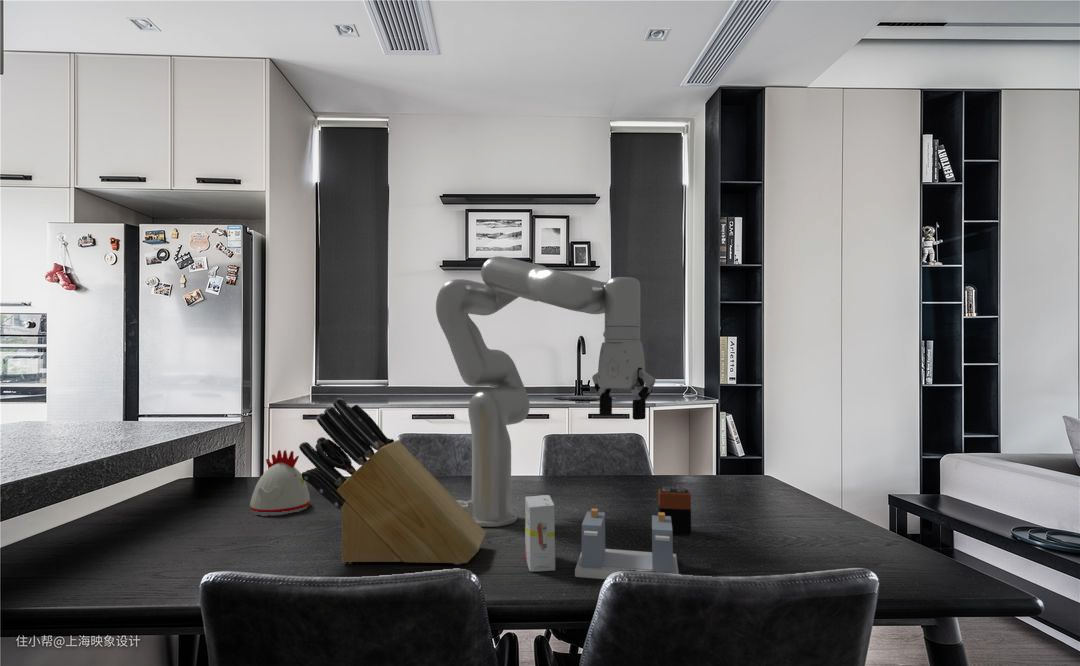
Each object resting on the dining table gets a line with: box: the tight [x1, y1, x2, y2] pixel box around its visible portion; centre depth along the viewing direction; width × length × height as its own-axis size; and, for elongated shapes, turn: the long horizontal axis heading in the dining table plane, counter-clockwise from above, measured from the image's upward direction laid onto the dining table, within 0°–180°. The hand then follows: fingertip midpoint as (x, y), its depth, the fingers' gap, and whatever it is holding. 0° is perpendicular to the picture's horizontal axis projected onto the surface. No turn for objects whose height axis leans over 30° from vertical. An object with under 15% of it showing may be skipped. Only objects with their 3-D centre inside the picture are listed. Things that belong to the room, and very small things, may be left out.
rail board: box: [574, 507, 680, 580], centre depth 100 cm, size 18×12×10 cm, turn 78°
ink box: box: [524, 494, 556, 572], centre depth 102 cm, size 9×5×12 cm, turn 7°
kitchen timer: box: [249, 449, 311, 512], centre depth 140 cm, size 14×14×15 cm
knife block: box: [298, 397, 487, 566], centre depth 107 cm, size 11×35×31 cm, turn 88°
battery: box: [657, 486, 692, 536], centre depth 122 cm, size 4×7×10 cm, turn 83°
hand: (621, 417), depth 114 cm, fingers open, 9 cm apart
